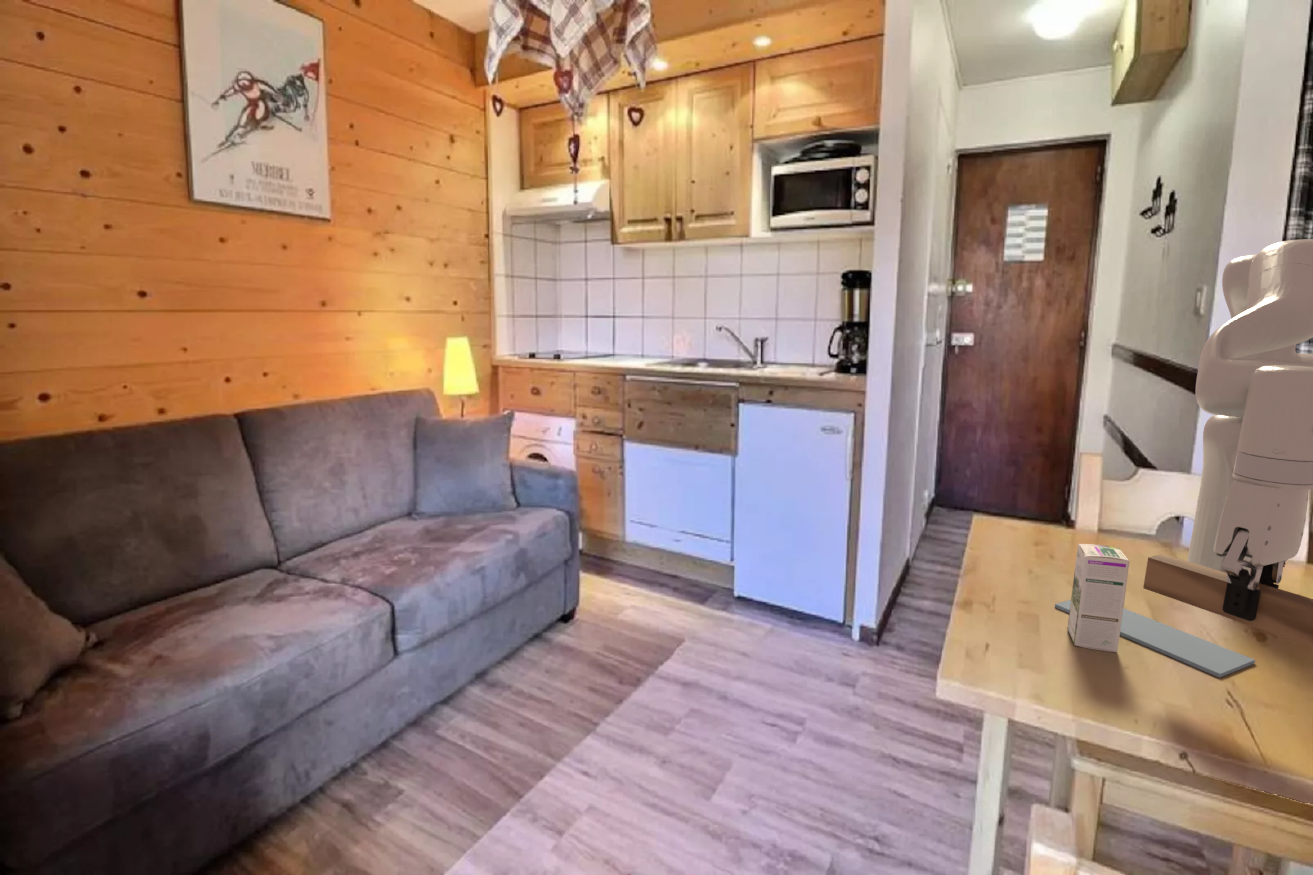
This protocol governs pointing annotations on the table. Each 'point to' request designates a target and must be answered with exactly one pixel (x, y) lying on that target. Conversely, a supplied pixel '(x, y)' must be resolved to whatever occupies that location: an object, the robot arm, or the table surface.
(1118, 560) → the syrup box
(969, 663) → the table surface
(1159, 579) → the wooden beam
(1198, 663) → the rubber mat
